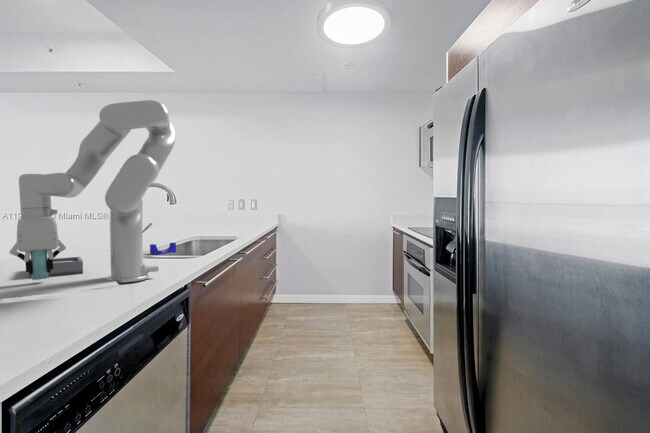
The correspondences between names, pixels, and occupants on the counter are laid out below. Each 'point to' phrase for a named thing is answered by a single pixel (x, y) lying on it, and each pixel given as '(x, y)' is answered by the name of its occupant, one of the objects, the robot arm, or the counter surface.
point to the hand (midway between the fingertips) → (40, 272)
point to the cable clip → (155, 251)
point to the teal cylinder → (39, 264)
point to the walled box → (66, 266)
